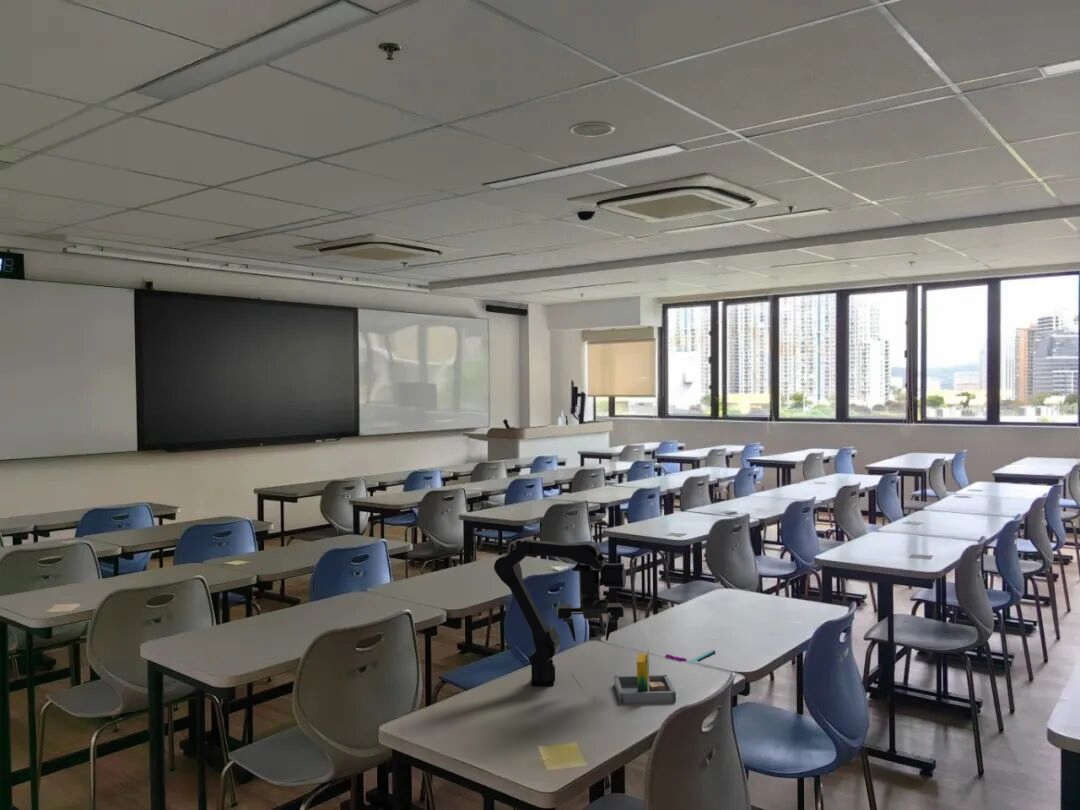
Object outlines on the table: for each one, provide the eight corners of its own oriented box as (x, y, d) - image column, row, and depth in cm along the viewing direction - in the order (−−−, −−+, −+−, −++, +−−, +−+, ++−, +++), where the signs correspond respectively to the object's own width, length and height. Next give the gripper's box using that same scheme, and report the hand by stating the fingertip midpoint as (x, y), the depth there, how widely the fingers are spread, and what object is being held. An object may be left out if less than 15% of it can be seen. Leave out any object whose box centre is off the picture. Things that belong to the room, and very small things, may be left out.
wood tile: (652, 691, 221) (652, 686, 221) (647, 686, 225) (647, 682, 225) (665, 689, 222) (665, 685, 222) (660, 685, 226) (660, 680, 226)
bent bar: (688, 643, 262) (715, 649, 255) (688, 648, 262) (715, 654, 255) (638, 668, 241) (666, 675, 234) (638, 673, 241) (666, 680, 234)
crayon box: (639, 688, 224) (638, 646, 224) (649, 688, 223) (649, 647, 223) (637, 697, 216) (636, 655, 216) (648, 698, 216) (647, 655, 216)
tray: (620, 705, 213) (619, 693, 213) (614, 686, 227) (614, 675, 227) (675, 703, 213) (675, 692, 213) (666, 685, 227) (666, 674, 227)
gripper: (558, 593, 219) (559, 650, 219) (625, 592, 220) (626, 648, 220) (556, 584, 231) (557, 638, 231) (620, 583, 231) (621, 636, 231)
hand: (590, 640), depth 228 cm, fingers open, 9 cm apart
